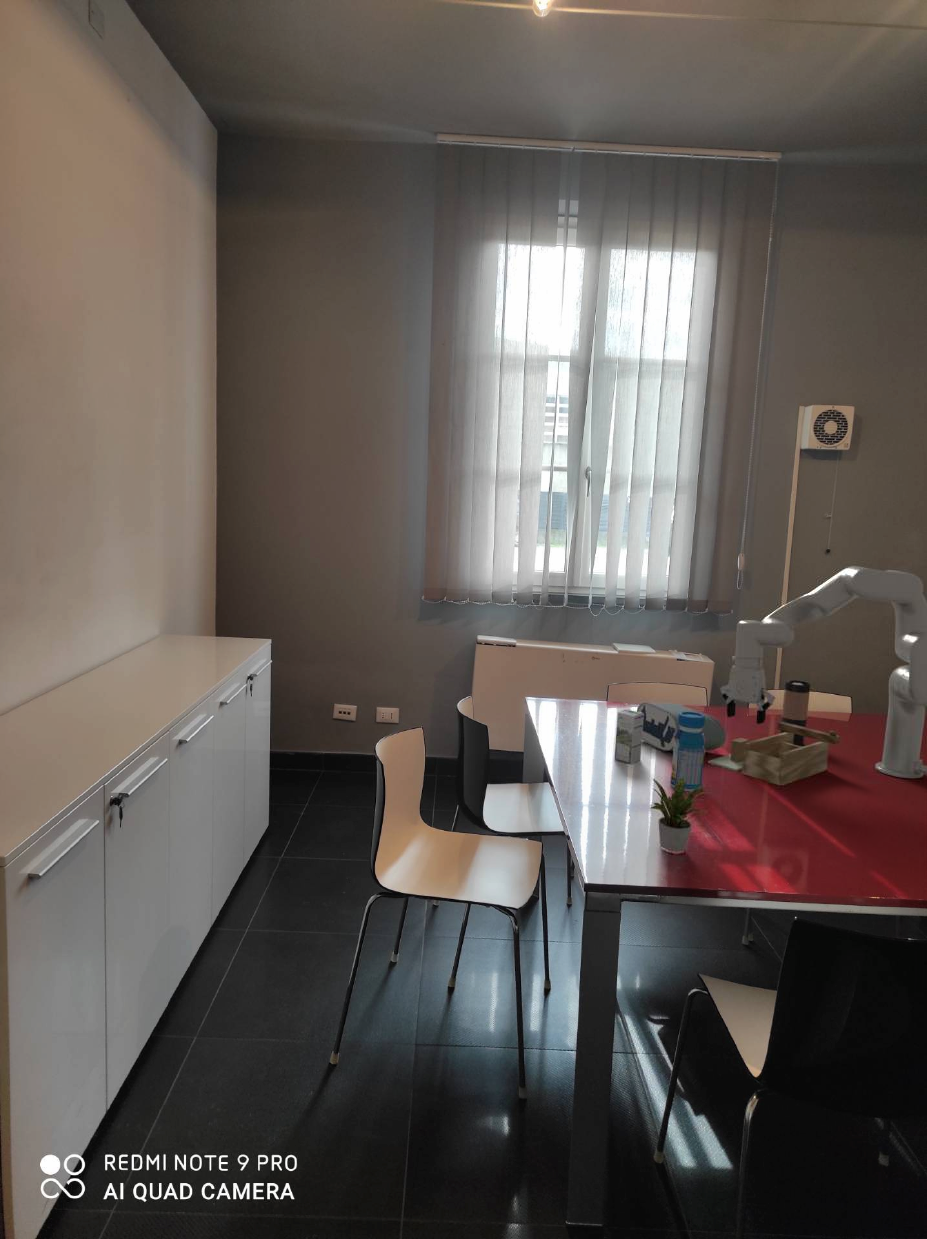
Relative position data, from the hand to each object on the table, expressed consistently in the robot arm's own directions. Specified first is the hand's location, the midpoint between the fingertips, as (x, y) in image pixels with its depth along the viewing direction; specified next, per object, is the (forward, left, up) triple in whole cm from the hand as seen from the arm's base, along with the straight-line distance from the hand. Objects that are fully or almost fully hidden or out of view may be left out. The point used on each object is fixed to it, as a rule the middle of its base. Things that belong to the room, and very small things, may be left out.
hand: (745, 719), depth 252 cm
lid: (+1, +1, -14) cm, 13 cm away
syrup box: (+20, +29, -13) cm, 37 cm away
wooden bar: (-12, -14, -4) cm, 19 cm away
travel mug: (+3, -33, -13) cm, 36 cm away
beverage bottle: (-4, +34, -13) cm, 36 cm away
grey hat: (+21, +3, -13) cm, 25 cm away
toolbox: (-12, -3, -13) cm, 18 cm away
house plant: (-29, +72, -13) cm, 79 cm away
